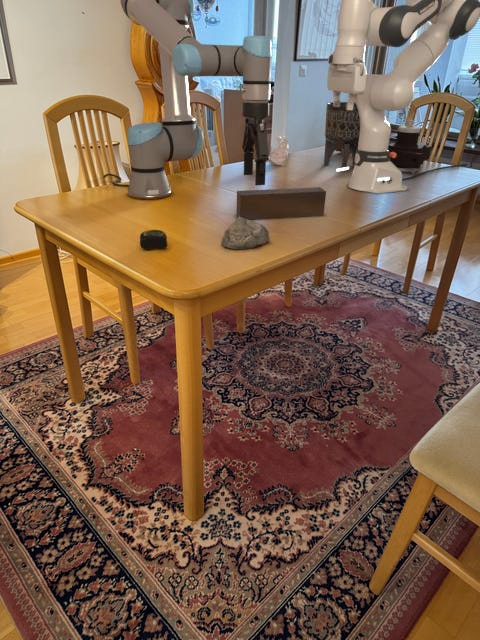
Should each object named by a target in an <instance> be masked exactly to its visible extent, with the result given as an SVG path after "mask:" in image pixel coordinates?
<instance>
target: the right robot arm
mask: <svg viewBox="0 0 480 640" xmlns="http://www.w3.org/2000/svg"><path fill="white" fill-rule="evenodd" d="M479 19H480V0H405V4H401V5H395V6H387V7H379V6H377V5H376V4H375V2H373V0H342V1H341V4H340V7H339V12H338V18H337V27H336V31H337V39H336V42H335V46H334V50H333V52H332V53H331V54H330V55H329V56H328V59H327V64H328V68H327V82H326V84H327V85H326V86H327V90H328V91H332V98H333V99H332V100H333V102H334V103H333V106H334V107H340V103H341V102H342V101H341V95H342V94H341V93H343V94H348V99H347V102H348V103H347V104H346V110H353V105H354V103H356V105H357V108H358V112H359V118H360V134H359V142H358V148H357V149H356V155H355V166H353V171H352V174H351V176H350V180H349V182H348V184H347V187H348V188H350V189H352V190H355V191H359V192H367V193H372V194H386V193H387V194H388V193H393V192H394V193H395V192H404V191H408V186H406V184H404V183H403V181H407V180H411V179H413V178H416V177H419V176H422V175H424V174H427V173H431V172H434V171H439V170H443V169H449V168H450V169H451V168H457V167H459V168H460V167H465V166H468V163H463V164H454V165H449V166H441V167H436V168H432V169H427V170H425V171H422V172H419V173H417V174H414V175H412V176H409V177H404V178H403V173H402V171H400V170H399V169H398V168H397V167H396V166H395V165H394V164H393V163H392V162H391V161H390V157H392V158H395V157H396V156H397V154H395V152H390V151H388V146H389V144H390V139H391V135H392V127H391V125H390V123H389V122H388V120H387V117H386V111H387V112H397V111H402V110H404V109H407V108H408V107H409V106H410V105H411V103H412V101H413V99H414V96H415V83H417V82H418V80H419V79H420V78H421V77H422V76H423V75H424V74H426V72H427V71H428V70H429V69H430V68H431V67H432V66H433V65H434V64H435V63H436V62H437V61H438V60H439V58H440V57H441V56H442V54H443V53H444V52H445V50H446V49H447V48H448V45H449V42H450V41H456V40H458V39H459V38H460V37H463V36H465V35H466V34H468V33H469V32H471V31H472V29H474V27H475V26H476V25H477V23H478V21H479ZM427 23H429V24H430V25H429V26H428V27H427V29H426V30H424V31H422V32H421V33H419V35H418V36H416V37H415V38H414V39H412V41H410V42H409V44H408V45H406V46H405V48H403V49H402V50H401V51H400V52H399V53H398V54H397V55H396V56H395V58H394V60H393V62H392V63H393V64H392V65H393V66H392V70H391V71H390V72H388V73H386V74H373V73H370V74H367V67H366V63H365V55H366V54H365V52H366V47H390V48H400V47H403V46H404V45H405V44H406V43H407V42H408V41H409V40H410V39H411V37H412V36H413V35H414V34H415V33H416V32H417V30H419V29H420V28H421V27H422V26H425V24H427ZM349 169H350V166H347V167H345V168H341V167H340V168H336V170H335V172H344V171H343V170H346V171H347V170H349Z"/></svg>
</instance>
